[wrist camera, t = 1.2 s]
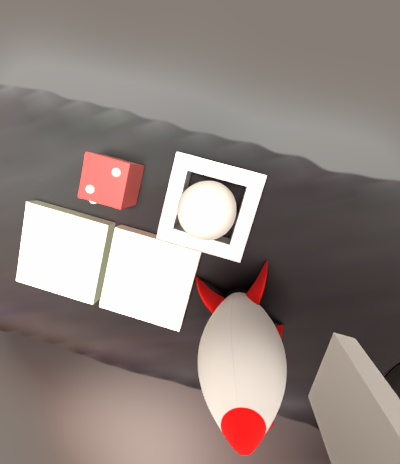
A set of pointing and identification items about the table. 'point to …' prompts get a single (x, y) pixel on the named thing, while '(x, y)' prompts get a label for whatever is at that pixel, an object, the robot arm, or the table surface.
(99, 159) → the red die
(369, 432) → the robot arm
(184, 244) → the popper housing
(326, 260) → the table surface
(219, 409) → the rocket
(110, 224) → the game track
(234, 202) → the dome
